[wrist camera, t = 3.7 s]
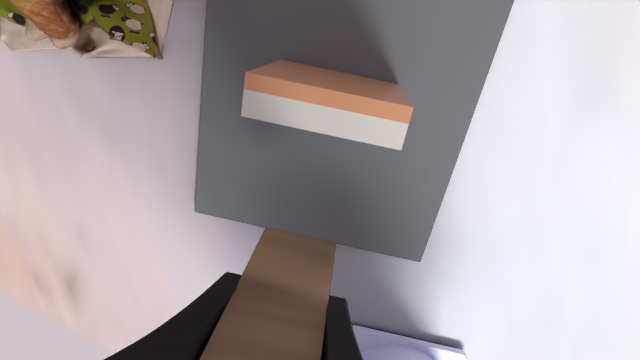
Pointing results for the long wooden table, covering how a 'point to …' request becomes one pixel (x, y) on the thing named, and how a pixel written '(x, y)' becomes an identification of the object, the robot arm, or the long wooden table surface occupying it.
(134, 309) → the long wooden table surface
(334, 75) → the tile
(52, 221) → the long wooden table surface
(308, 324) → the tan wooden brick
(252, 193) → the mat
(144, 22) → the bear figurine
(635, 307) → the long wooden table surface
